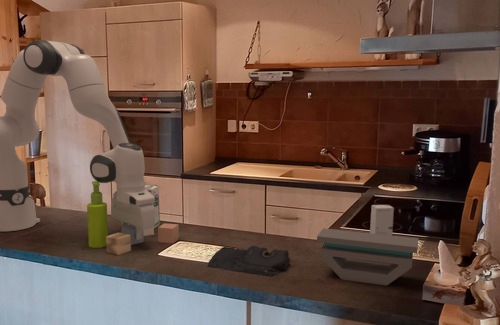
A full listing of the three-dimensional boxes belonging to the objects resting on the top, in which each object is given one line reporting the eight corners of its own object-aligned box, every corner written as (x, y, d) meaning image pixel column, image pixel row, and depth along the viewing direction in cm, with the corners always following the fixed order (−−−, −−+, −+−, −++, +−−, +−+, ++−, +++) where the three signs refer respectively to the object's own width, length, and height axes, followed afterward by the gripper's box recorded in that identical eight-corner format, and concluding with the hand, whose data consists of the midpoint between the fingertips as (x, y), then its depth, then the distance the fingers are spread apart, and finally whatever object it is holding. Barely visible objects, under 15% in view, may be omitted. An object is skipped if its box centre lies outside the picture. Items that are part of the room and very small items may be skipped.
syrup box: (154, 229, 174) (153, 188, 172) (138, 228, 175) (137, 187, 173) (160, 224, 179) (159, 185, 177) (144, 223, 181) (143, 184, 178)
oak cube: (106, 252, 150) (106, 236, 149) (119, 247, 154) (118, 232, 153) (118, 255, 147) (118, 239, 146) (130, 250, 151) (130, 234, 151)
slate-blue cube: (121, 241, 160) (121, 226, 159) (134, 238, 163) (134, 223, 162) (130, 245, 156) (129, 229, 155) (143, 241, 160) (143, 226, 159)
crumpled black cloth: (225, 251, 152) (225, 236, 152) (294, 261, 144) (294, 245, 144) (202, 268, 138) (202, 252, 137) (278, 280, 130) (278, 262, 130)
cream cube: (135, 232, 170) (135, 218, 169) (150, 231, 172) (149, 217, 171) (139, 236, 166) (138, 222, 165) (153, 234, 168) (153, 220, 167)
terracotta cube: (158, 242, 160) (157, 227, 159) (164, 238, 164) (164, 223, 164) (172, 243, 158) (172, 228, 158) (178, 239, 163) (178, 224, 162)
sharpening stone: (316, 275, 132) (317, 236, 130) (322, 265, 139) (323, 228, 138) (414, 289, 124) (417, 247, 122) (416, 278, 131) (418, 238, 129)
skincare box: (374, 245, 158) (375, 208, 156) (369, 241, 162) (370, 204, 160) (392, 244, 158) (394, 207, 157) (387, 240, 163) (388, 204, 161)
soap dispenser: (106, 240, 161) (104, 179, 158) (109, 246, 155) (107, 183, 152) (87, 242, 159) (85, 180, 156) (89, 248, 153) (86, 184, 150)
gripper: (105, 191, 162) (106, 232, 164) (140, 201, 148) (141, 246, 150) (122, 188, 167) (123, 228, 169) (158, 198, 153) (159, 241, 155)
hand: (132, 236), depth 159 cm, fingers closed on slate-blue cube, 5 cm apart
